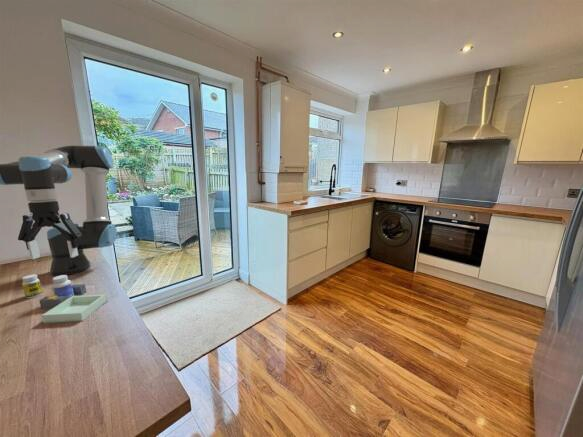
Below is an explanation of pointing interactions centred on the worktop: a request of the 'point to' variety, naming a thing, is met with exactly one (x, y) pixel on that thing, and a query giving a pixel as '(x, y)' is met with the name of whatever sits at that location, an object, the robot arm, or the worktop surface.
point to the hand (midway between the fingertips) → (55, 257)
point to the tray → (75, 309)
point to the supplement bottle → (31, 286)
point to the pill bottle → (62, 286)
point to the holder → (60, 297)
